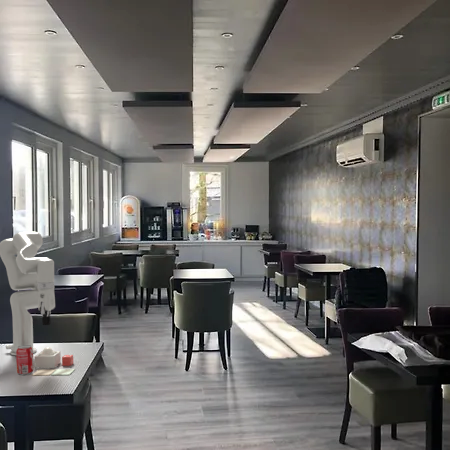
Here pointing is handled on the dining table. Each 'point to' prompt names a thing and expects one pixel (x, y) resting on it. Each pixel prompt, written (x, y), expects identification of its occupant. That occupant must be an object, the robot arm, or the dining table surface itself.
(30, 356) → the soda can
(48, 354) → the dome
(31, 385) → the dining table surface
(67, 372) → the beige and green board
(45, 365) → the base
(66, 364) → the die
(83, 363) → the dining table surface
